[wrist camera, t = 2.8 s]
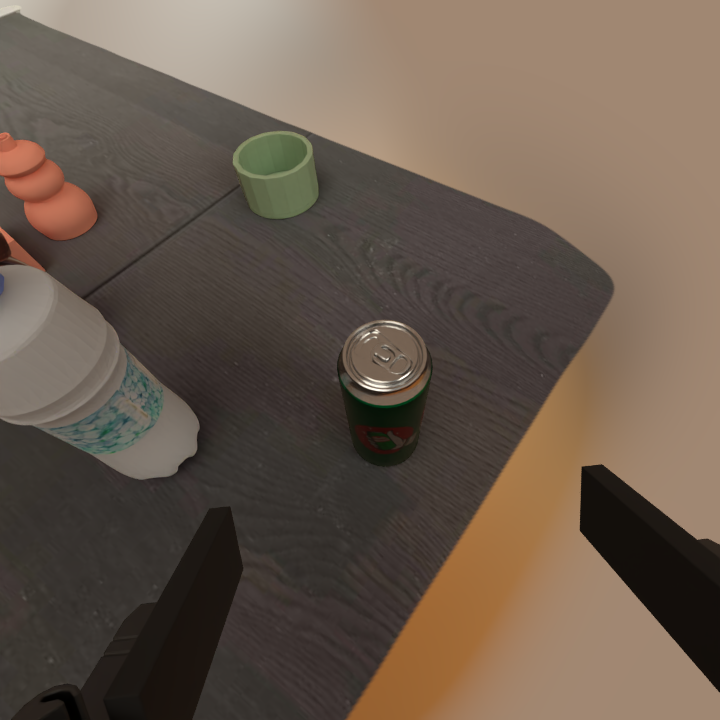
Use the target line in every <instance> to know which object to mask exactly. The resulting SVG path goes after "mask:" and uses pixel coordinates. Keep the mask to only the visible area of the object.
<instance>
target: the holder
mask: <svg viewBox="0 0 720 720" xmlns="http://www.w3.org/2000/svg"><path fill="white" fill-rule="evenodd" d="M233 166H234V169H235V171H236V174H237V177H238V180H239V183H240V186H241V188H242V191H243V194H244V197H245V200H246V201H247V204H248V206H249V208H250V209H251V210H252V211H253V212H254V213H256V214H257V215H259V216H261V217H265V218H269V219H285V218H290V217H294V216H296V215H299V214H301V213H303V212H305V211H306V210H308V209H309V208H310V207H311V206H313V204H314V203H315V202H316V200H317V198H318V195H319V186H318V179H317V173H316V167H315V160H314V154H313V148H312V144H311V143H310V142H309V141H308V140H307V139H306V137H304V136H302V135H299V134H297V133H294V132H286V131H274V132H266V133H263V134H260V135H257V136H254V137H251V138H250V139H248V140H247V141H245V142H244V143H242V144H241V145H240V146H239V147H238V148H237V150H236V151H235V153H234V154H233Z"/></svg>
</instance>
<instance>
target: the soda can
mask: <svg viewBox="0 0 720 720" xmlns="http://www.w3.org/2000/svg"><path fill="white" fill-rule="evenodd" d="M337 371H338V377H339V382H340V387H341V391H342V396H343V401H344V405H345V410H346V415H347V419H348V424H349V429H350V434H351V438H352V442H353V445H354V448H355V450H356V451H357V453H358V454H359V455H360V456H361V457H362V458H363V459H364V460H366V461H367V462H369V463H371V464H374V465H377V466H383V467H385V466H394V465H397V464H400V463H402V462H403V461H405V460H406V459H408V458H409V457H410V456H411V455H412V453H413V452H414V450H415V448H416V446H417V443H418V439H419V434H420V429H421V424H422V419H423V414H424V410H425V405H426V400H427V395H428V390H429V385H430V380H431V375H432V359H431V355H430V353H429V351H428V349H427V347H426V346H425V344H424V342H423V340H422V338H421V337H420V336H419V334H418V333H417V332H416V331H415V330H413V329H412V328H411V327H409V326H407V325H405V324H403V323H400V322H397V321H393V320H377V321H372V322H369V323H366V324H364V325H362V326H360V327H359V328H357V329H356V330H355V331H354V332H353V333H352V334H351V335H350V336H349V337H348V339H347V341H346V343H345V345H344V346H343V348H342V350H341V352H340V354H339V357H338V362H337Z"/></svg>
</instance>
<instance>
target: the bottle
mask: <svg viewBox="0 0 720 720" xmlns="http://www.w3.org/2000/svg"><path fill="white" fill-rule="evenodd" d="M0 418H1V419H2V420H4V421H6V422H9V423H12V424H18V425H32V426H34V427H36V428H38V429H40V430H42V431H44V432H46V433H48V434H51V435H53V436H55V437H57V438H59V439H61V440H63V441H65V442H67V443H69V444H71V445H73V446H75V447H77V448H79V449H81V450H83V451H85V452H88V453H89V454H91V455H93V456H95V457H96V458H98V459H99V460H101V461H102V462H104V463H105V464H107V465H108V466H110V467H112V468H113V469H115V470H117V471H118V472H120V473H122V474H125V475H127V476H129V477H132V478H136V479H140V480H142V479H147V478H155V477H168V476H171V475H173V474H175V473H176V472H177V471H178V466H179V465H180V464H181V463H182V462H183V461H184V460H185V459H186V458H188V457H192V456H194V455H195V453H196V451H197V433H198V431H199V429H200V426H199V421H198V419H197V417H196V415H195V414H194V412H193V411H192V410H191V408H190V407H189V406H188V405H187V404H186V402H185V401H183V400H182V399H181V398H180V397H179V396H177V395H176V394H175V393H174V392H172V391H171V390H170V389H168V388H167V387H166V386H164V385H163V384H162V383H161V382H159V381H158V380H157V378H156V377H155V376H154V375H152V374H151V373H150V372H149V371H148V370H147V369H146V368H145V367H144V366H143V365H142V364H141V363H140V362H139V361H138V360H137V359H136V358H135V357H134V356H133V355H132V354H131V353H130V352H129V351H128V350H127V349H126V348H125V347H123V346H122V345H121V344H120V342H119V338H118V335H117V333H116V331H115V330H114V328H113V327H112V326H111V325H110V324H109V323H108V322H107V321H105V320H104V318H103V316H102V315H101V313H100V312H99V311H98V310H97V309H96V308H95V307H94V306H92V305H90V304H89V303H87V302H86V301H84V300H83V299H81V298H80V297H79V296H77V295H76V294H74V293H73V292H72V291H70V290H69V289H68V288H66V287H65V286H64V285H62V284H61V283H60V282H58V281H57V280H56V279H54V278H53V277H52V276H50V275H49V274H48V273H46V272H44V271H42V270H40V269H37V268H34V267H32V266H24V265H6V266H0Z"/></svg>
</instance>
